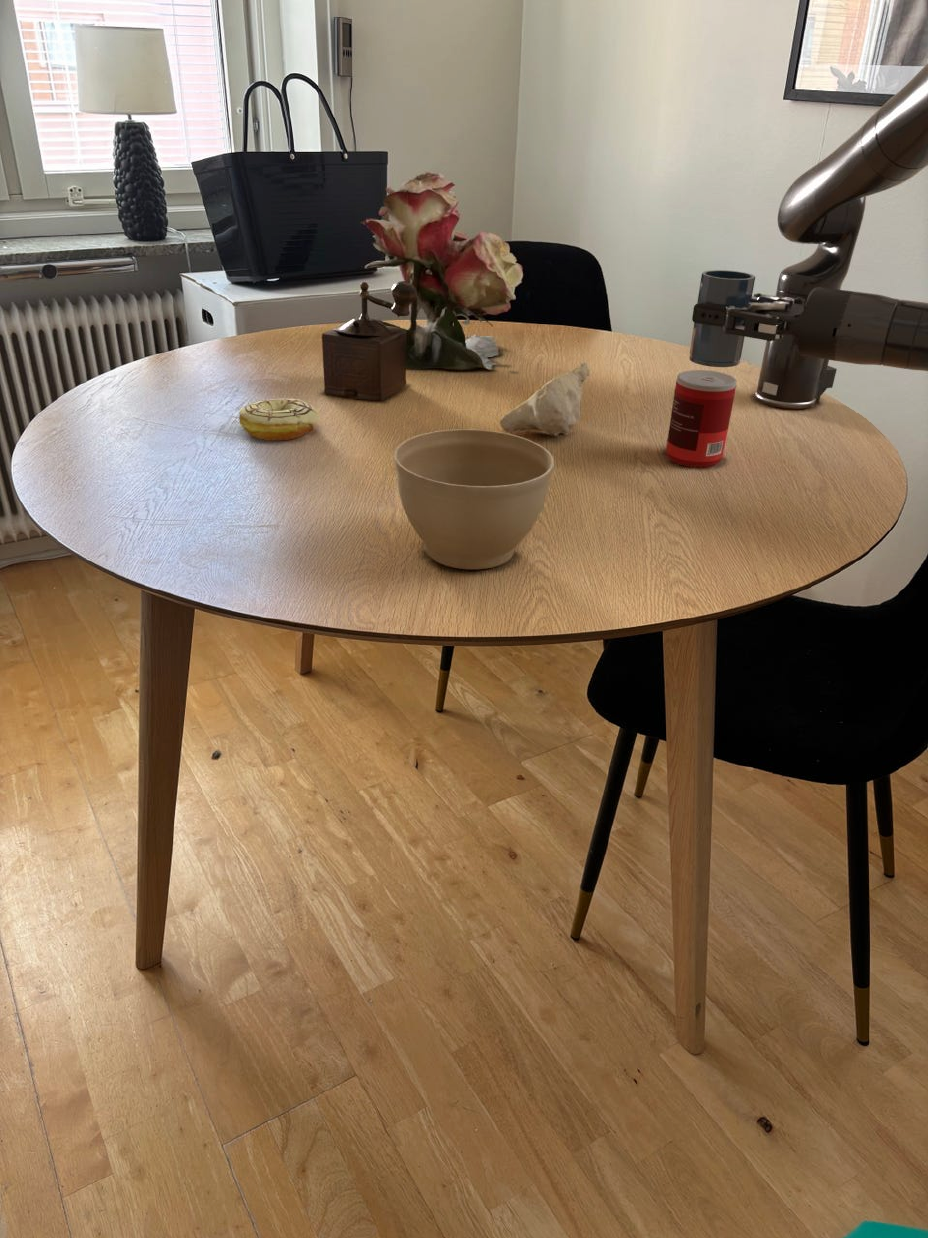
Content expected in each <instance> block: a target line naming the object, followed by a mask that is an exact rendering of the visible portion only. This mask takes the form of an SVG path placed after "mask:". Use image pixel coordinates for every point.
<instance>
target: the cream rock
mask: <svg viewBox="0 0 928 1238" xmlns="http://www.w3.org/2000/svg"><path fill="white" fill-rule="evenodd" d="M590 371H591V370H590V369H589V366H588V363H587V362H580V363H579V365H578V366H576V367H575V368H574V369H572V370H571V371H570V370H569V371H568V372H566V373H564V374H558V375H556V376H555V377H554V378H552V379H551V380H549V381H547V382H546V383H545V384H543V386H542V387H541V388H540V389H537V390H536V391H535V392H534V393H533V394H532V395H531V396H530V397H529V398H528V399H526V400H524V401H523V402H522V403H521V404H519V405H518V406H516V407H513V408H512V409H511V410H509V411H508V412H507V413H506V414H504V415H503V416H502V417H501V419H500V420H499V421H498V422H499V426H500V427H501V429H502V431H504V432H505V433H510V434H512V433H514V432H517V431H519V432H525V431H537V432H546V433H548V434H551V435H553V436H555V437H557V436H558V435H560V433H561V434H562V435H566V434H568V432H569V430H570V429H571V427H573V426H574V425H575V424H577V423H578V421H579V420H580V419H581V416H582V414H581V412H580V406H581V403H582V397H583V395H584V392H583V388H582V387H583V385H584V382H585V381H586V380H587V377H589V376H590Z"/></svg>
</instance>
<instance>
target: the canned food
mask: <svg viewBox="0 0 928 1238" xmlns="http://www.w3.org/2000/svg"><path fill="white" fill-rule="evenodd" d="M736 388H737V379H736V378H735V377H734V376H732V375H730V374H728V373H724V372H719V371H714V370H705V369H704V370H703V369H691V370H686V371H682V372H680V373H678V374H677V378H676V381H675V386H674V393H673V399H672V406H671V414H670V418H669V419H670V420H669V427H668V434H667V440H666V447H665V451H666V456H667V458H668V459H669V460H670V461H671V462H673V463H675V464H677V465H680V466H683V467H689V468H709V467H713V466H716V465H718V464H719V463H720V462H721V461H722V459H723V457H724V453H725V447H726V443H727V437H728V433H729V428H730V427H729V426H730V421H731V416H732V411H733V406H734V400H735V395H736Z"/></svg>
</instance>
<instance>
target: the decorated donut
mask: <svg viewBox="0 0 928 1238" xmlns="http://www.w3.org/2000/svg"><path fill="white" fill-rule="evenodd" d="M238 414H239V416H238V420H239V424H240V426H241V427H242V428H243V430H244V431H245V432H246V433H247V434H248V435H250V436H251V437H254V438H256V439H260V440H264V441H270V442H271V441H278V440H279V441H280V440H282V441H286V440H292V439H293V440H294V439H298V438H300V437H302V436H305V435H307V434H308V433H310V432H312V431H313V429H314V428H316V427H317V425H318V424H319V413H318V411H317V408H315V406H313V405H311V404H310V403H309V402H306V401H304V400H301V399H299V398H298V399H297V398H271V399H270V398H269V399H261V400H256V401H252V402H250V403H248V404H245V405H244V406H243V407H241V408H240V410H239V412H238Z"/></svg>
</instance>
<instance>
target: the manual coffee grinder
mask: <svg viewBox="0 0 928 1238" xmlns="http://www.w3.org/2000/svg"><path fill="white" fill-rule="evenodd" d="M359 286H360V291H359V297H360V298H361V314H360V317H356V318H352V319H351V320H349V321H348V322H346V323H343V324H341V325H339V326H336V327H334V328H331V329H329V330H326V331H325V332H322V334H321V347H322V367H323V384H324V389H323V394H325V395H329V396H330V395H331V396H336V397H343V398H349V399H359V400H360V399H361V400H369V401H381V402H382V401H384V400H387V399H390V398H391V397H393V396H394V395H396V394H398V393H399V392H401V391H402V390H403V389H404V388H405V387H406V386H407V368H406V330H407V328H403V327H400V328H397V327H390V326H385V325H384V324H383V323H381V322H379V321H378V320H376V319H373V317H372V318H371V317H370V316H369V314H368V302H370V303H373V304H374V305H377V306H380V307H384V308H387V309H390V310H391V313H393V314H394V315H396V316H397V318H400V317H408V316H409V315H410V304H411V303H412V302H413V301H414V300H415V299H416V296H417V291H416V288H415V287H414V286H413V285H412V284H410V283H409V282H406V281H404V280H401V281H397V282H395V283H394V284H393V285H392V287H391V295H392V297H393V301H394V303H392V302H389V301H386V300H383V299H380V298H377V297H374V296H372V295H370V292H369V291H368V290H369V284H368V282H366V281H362V282H361V283H360V285H359Z"/></svg>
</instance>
